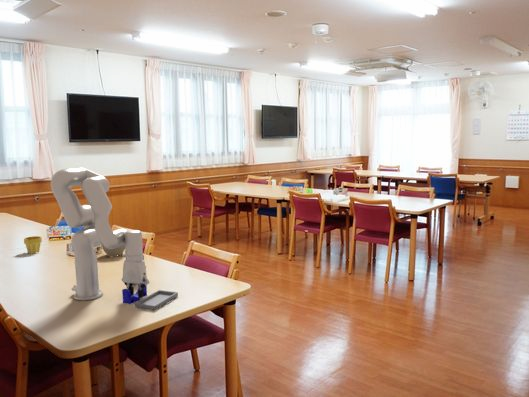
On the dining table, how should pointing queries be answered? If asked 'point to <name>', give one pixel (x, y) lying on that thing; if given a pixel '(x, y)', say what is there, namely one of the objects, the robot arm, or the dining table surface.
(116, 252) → the planter bowl
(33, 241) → the plant pot
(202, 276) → the dining table surface
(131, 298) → the cable clip
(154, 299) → the grey rectangular tray
